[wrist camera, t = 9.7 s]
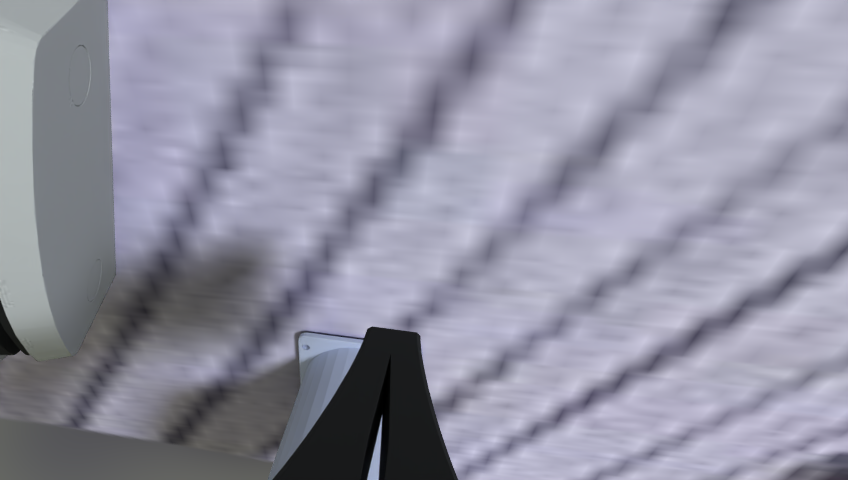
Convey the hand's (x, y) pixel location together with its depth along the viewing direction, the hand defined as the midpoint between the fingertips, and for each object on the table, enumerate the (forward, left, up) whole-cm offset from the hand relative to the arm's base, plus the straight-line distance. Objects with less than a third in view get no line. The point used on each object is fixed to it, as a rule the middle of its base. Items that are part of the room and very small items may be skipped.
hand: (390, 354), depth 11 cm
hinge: (-1, +16, -11) cm, 19 cm away
